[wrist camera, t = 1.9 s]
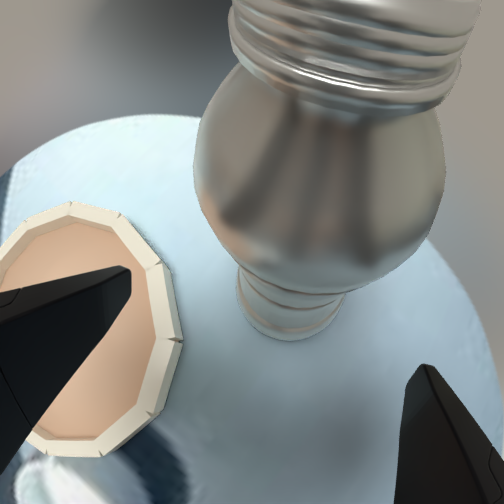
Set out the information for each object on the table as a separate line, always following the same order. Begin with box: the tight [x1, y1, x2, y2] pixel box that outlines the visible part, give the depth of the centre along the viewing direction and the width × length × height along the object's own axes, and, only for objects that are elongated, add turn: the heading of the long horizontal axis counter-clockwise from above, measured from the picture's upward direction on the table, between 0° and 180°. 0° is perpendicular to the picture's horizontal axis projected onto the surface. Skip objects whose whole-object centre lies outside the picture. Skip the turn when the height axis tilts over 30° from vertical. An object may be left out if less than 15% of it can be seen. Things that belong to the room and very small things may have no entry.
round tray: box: [0, 201, 183, 457], centre depth 20 cm, size 19×19×2 cm
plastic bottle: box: [193, 0, 482, 341], centre depth 12 cm, size 6×7×20 cm
